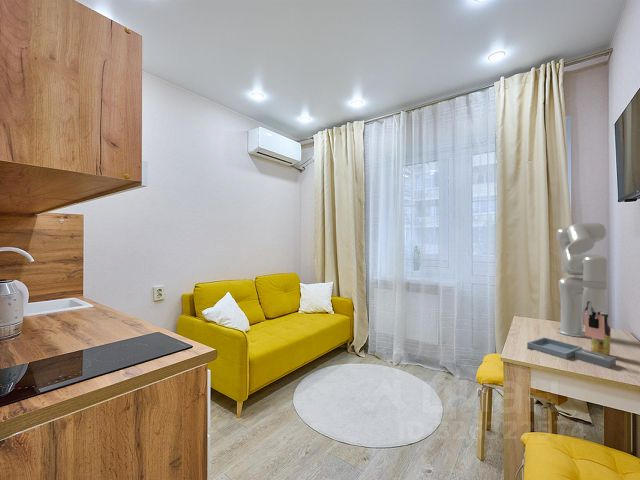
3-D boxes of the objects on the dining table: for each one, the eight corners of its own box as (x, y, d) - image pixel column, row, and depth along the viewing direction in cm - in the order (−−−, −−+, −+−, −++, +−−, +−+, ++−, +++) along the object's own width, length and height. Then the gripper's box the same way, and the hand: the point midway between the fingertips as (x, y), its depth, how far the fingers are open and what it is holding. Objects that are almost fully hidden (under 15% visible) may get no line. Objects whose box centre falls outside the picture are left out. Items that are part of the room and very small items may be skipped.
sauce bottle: (587, 353, 137) (587, 310, 136) (599, 352, 137) (599, 310, 137) (602, 359, 130) (602, 314, 130) (614, 358, 131) (614, 314, 130)
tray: (543, 343, 150) (543, 337, 150) (582, 353, 136) (582, 347, 136) (527, 348, 143) (527, 342, 143) (565, 360, 129) (565, 353, 129)
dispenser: (582, 356, 133) (582, 348, 133) (615, 366, 123) (615, 356, 123) (574, 359, 129) (574, 351, 129) (608, 369, 120) (608, 360, 120)
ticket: (586, 335, 129) (586, 312, 129) (604, 339, 124) (604, 315, 124) (585, 336, 129) (584, 313, 129) (603, 340, 123) (602, 316, 123)
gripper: (591, 282, 133) (591, 322, 133) (575, 285, 126) (575, 327, 126) (613, 284, 126) (613, 326, 127) (598, 288, 119) (598, 332, 119)
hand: (594, 327), depth 126 cm, fingers closed on ticket, 1 cm apart
